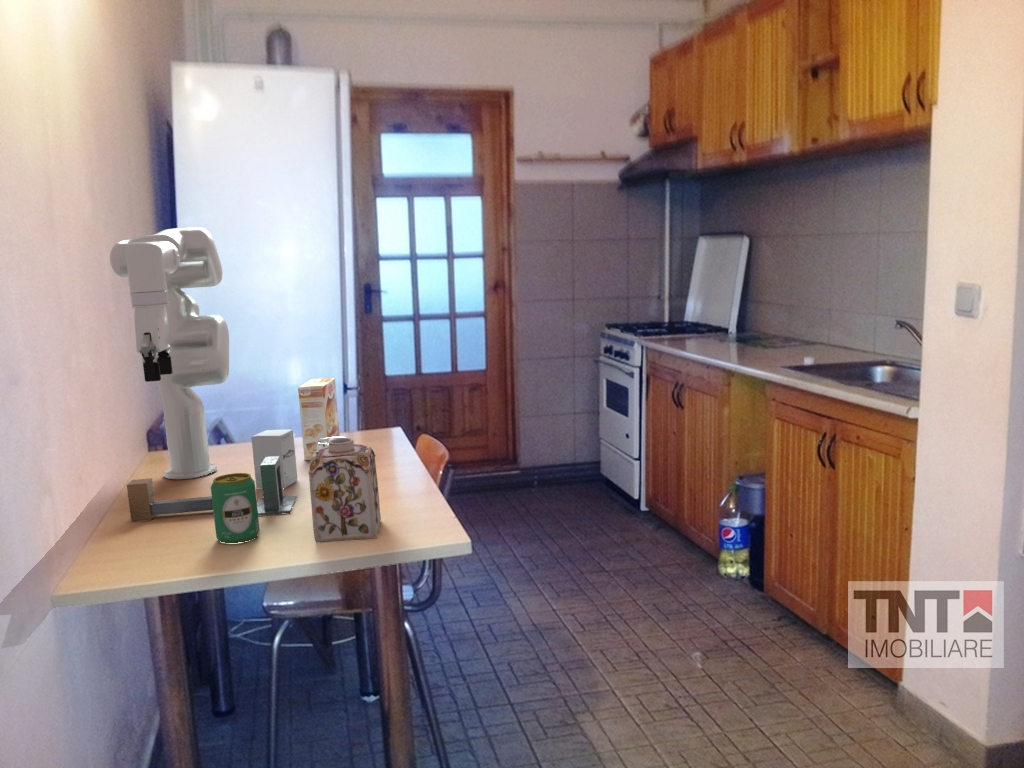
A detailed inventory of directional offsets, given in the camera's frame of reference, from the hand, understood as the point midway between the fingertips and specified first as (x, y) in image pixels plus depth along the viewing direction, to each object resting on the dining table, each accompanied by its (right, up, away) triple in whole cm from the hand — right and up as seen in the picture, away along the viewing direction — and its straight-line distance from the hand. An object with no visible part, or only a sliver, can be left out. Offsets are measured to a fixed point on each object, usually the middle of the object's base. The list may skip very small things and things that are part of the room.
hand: (159, 377), depth 196 cm
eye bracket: (+27, -28, -6) cm, 39 cm away
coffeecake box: (+27, -20, +43) cm, 55 cm away
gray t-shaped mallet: (+10, -29, -8) cm, 32 cm away
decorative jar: (+47, -30, -25) cm, 61 cm away
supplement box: (+23, -25, +13) cm, 36 cm away
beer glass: (+42, -28, -11) cm, 51 cm away
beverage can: (+25, -31, -26) cm, 48 cm away
